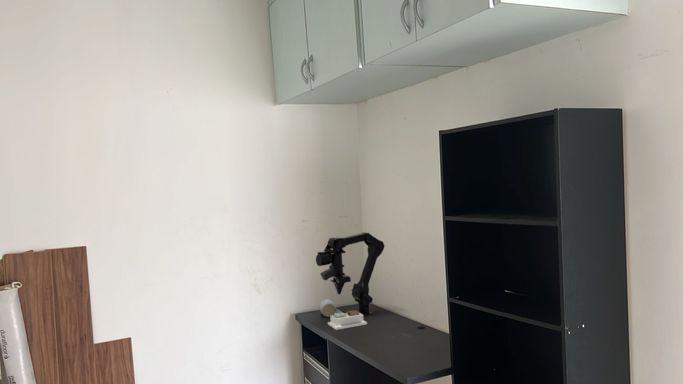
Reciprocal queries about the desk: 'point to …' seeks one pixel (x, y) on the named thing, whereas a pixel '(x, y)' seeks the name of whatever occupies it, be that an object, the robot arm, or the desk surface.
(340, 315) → the sage key
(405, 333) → the desk surface
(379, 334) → the desk surface
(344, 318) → the key panel
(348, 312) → the walnut key
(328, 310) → the ceramic mug
